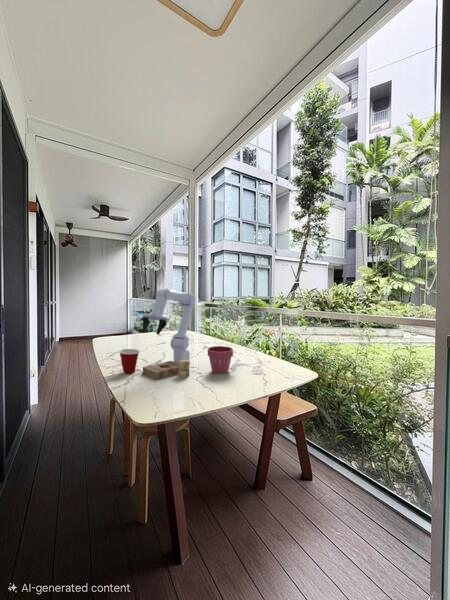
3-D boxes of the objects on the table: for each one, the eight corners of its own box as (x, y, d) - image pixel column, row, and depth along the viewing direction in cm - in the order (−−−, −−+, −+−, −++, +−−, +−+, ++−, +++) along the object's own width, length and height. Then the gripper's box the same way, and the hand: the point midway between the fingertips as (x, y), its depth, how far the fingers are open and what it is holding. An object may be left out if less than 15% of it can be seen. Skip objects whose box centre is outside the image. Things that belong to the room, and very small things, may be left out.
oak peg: (184, 374, 141) (184, 359, 141) (189, 375, 138) (189, 360, 138) (178, 375, 138) (178, 360, 138) (183, 377, 135) (183, 362, 135)
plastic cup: (135, 375, 138) (135, 352, 138) (115, 375, 139) (115, 352, 138) (142, 369, 149) (142, 348, 149) (123, 369, 149) (123, 348, 149)
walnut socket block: (170, 366, 155) (170, 360, 155) (185, 371, 145) (185, 365, 145) (142, 373, 142) (142, 366, 142) (157, 379, 132) (157, 372, 132)
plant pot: (230, 376, 138) (231, 352, 138) (204, 374, 141) (205, 350, 140) (234, 368, 152) (234, 346, 152) (210, 367, 155) (210, 345, 154)
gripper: (143, 304, 138) (134, 328, 132) (169, 307, 135) (161, 332, 129) (148, 310, 144) (139, 333, 138) (173, 313, 141) (165, 337, 135)
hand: (150, 333), depth 134 cm, fingers open, 7 cm apart
